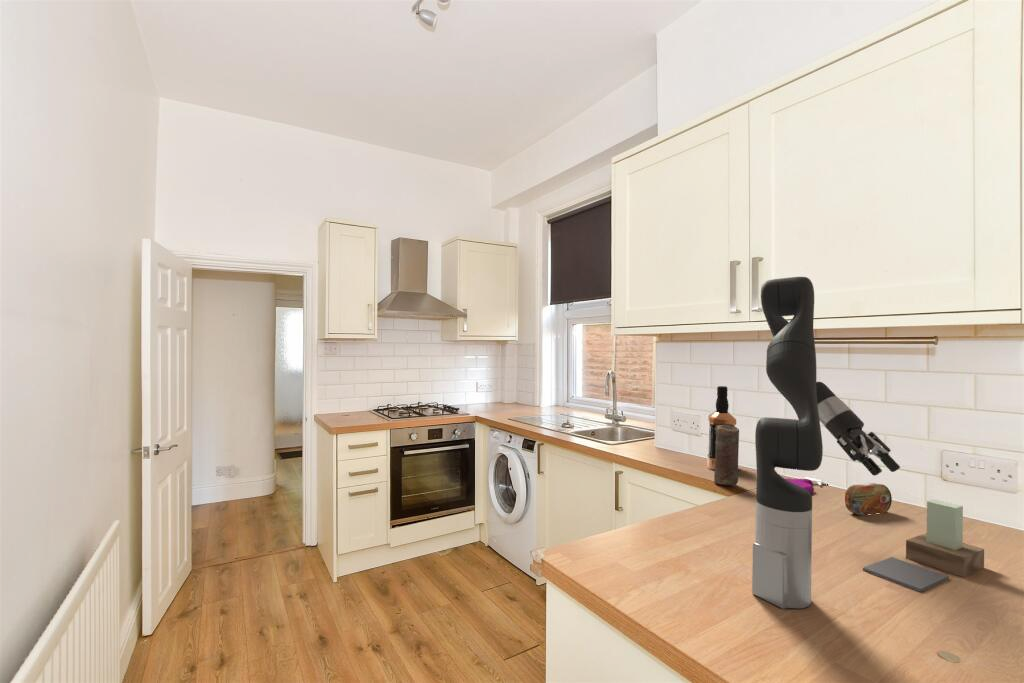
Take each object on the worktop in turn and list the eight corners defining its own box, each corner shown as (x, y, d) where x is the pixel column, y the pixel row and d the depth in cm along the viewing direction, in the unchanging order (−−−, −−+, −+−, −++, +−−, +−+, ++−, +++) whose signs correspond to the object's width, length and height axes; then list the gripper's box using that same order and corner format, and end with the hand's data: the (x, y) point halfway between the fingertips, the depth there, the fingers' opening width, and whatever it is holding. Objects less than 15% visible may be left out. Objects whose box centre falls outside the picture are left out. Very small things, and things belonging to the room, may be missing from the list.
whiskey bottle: (706, 463, 195) (708, 384, 195) (733, 465, 192) (734, 385, 192) (708, 469, 185) (709, 386, 185) (736, 472, 182) (737, 387, 182)
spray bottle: (765, 490, 159) (799, 481, 174) (800, 499, 150) (833, 488, 165) (765, 481, 159) (799, 472, 174) (800, 490, 150) (833, 480, 165)
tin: (852, 517, 134) (852, 487, 134) (842, 513, 137) (842, 484, 137) (892, 513, 138) (893, 484, 138) (881, 509, 141) (882, 481, 141)
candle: (737, 483, 166) (738, 425, 167) (739, 488, 160) (740, 428, 160) (713, 480, 169) (714, 424, 169) (714, 486, 162) (715, 427, 162)
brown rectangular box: (963, 577, 99) (963, 557, 99) (905, 557, 108) (906, 540, 108) (984, 567, 104) (984, 548, 104) (927, 549, 113) (927, 532, 113)
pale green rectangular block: (955, 550, 103) (955, 508, 103) (926, 541, 107) (927, 501, 107) (962, 547, 104) (962, 505, 105) (934, 538, 109) (934, 499, 109)
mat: (920, 592, 92) (920, 589, 92) (862, 570, 101) (862, 567, 101) (948, 579, 98) (948, 576, 98) (891, 559, 107) (891, 556, 107)
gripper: (832, 410, 120) (885, 466, 110) (863, 407, 127) (915, 460, 117) (811, 428, 125) (859, 483, 115) (841, 424, 131) (889, 476, 121)
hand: (887, 471), depth 116 cm, fingers open, 8 cm apart
